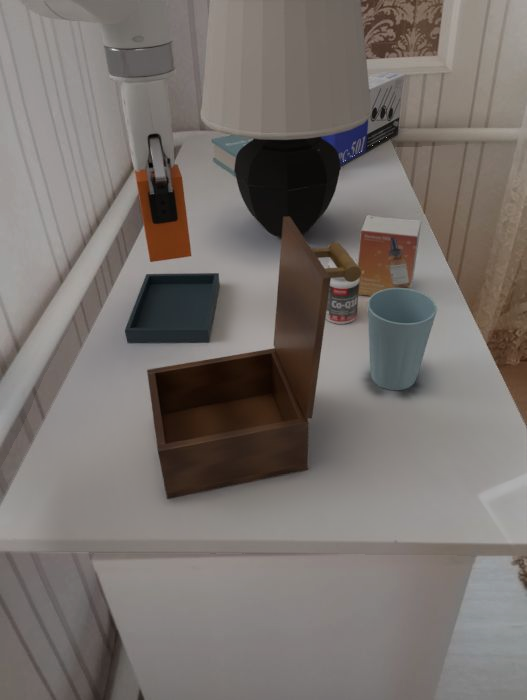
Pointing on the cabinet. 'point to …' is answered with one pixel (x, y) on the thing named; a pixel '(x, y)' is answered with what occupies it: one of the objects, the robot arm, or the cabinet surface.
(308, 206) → the table lamp
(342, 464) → the cabinet surface
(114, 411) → the cabinet surface
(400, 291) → the cup
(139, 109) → the robot arm
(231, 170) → the book
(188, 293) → the tray
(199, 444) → the chest
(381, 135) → the ink box
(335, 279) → the pill bottle
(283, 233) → the lid
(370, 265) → the small box
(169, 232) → the block
